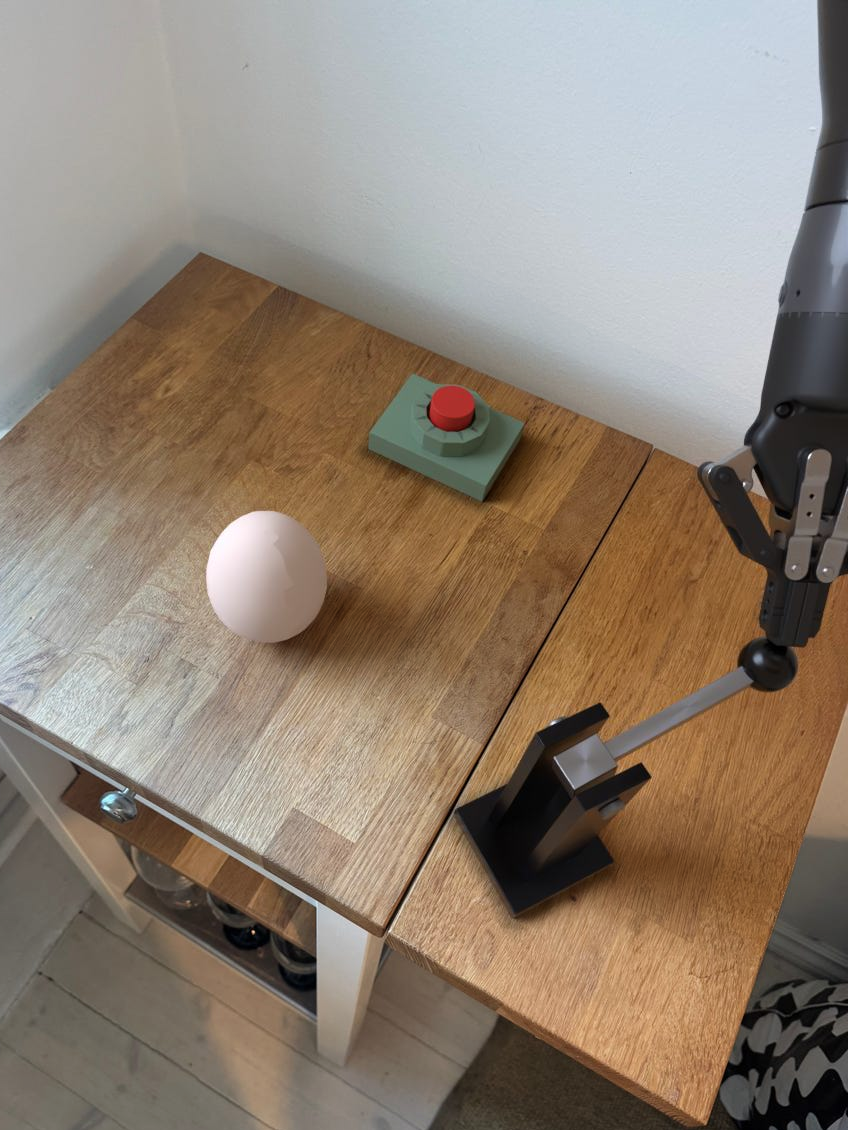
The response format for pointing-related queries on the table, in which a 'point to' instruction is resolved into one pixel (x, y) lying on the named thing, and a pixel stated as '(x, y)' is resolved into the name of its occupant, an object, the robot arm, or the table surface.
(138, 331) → the table surface
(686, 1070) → the table surface
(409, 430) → the button box
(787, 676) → the lever
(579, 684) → the table surface
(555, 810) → the bracket
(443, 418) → the button
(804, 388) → the robot arm
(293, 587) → the egg
